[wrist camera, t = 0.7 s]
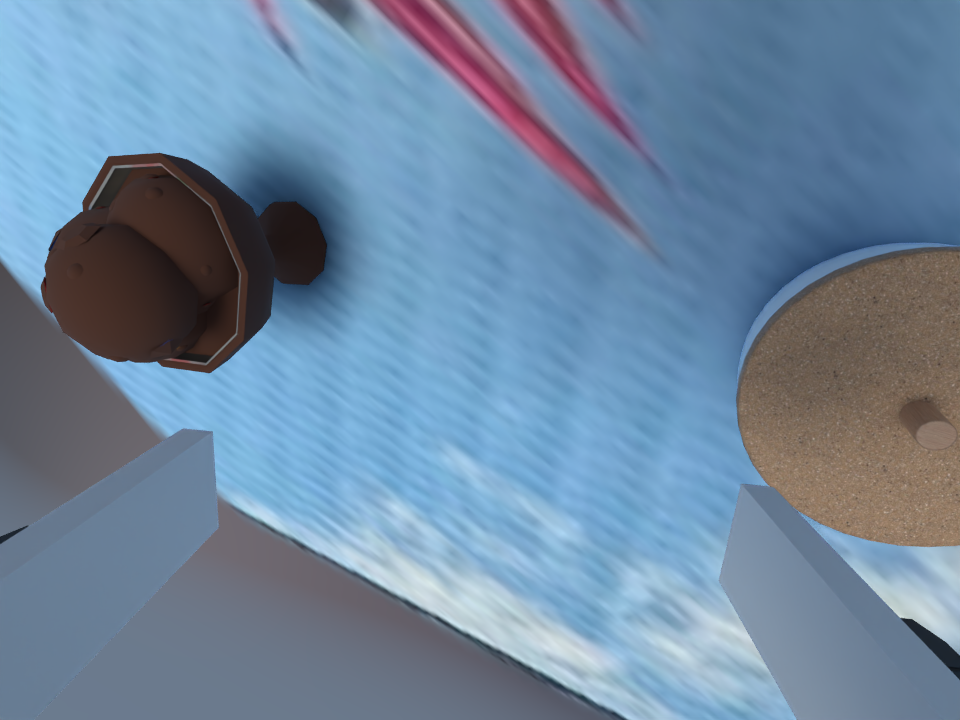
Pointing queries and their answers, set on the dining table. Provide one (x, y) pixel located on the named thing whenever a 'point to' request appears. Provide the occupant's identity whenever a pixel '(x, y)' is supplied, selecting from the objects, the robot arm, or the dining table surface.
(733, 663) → the dining table surface
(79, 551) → the robot arm
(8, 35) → the dining table surface
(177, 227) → the ice cream bowl
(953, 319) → the lidded jar
